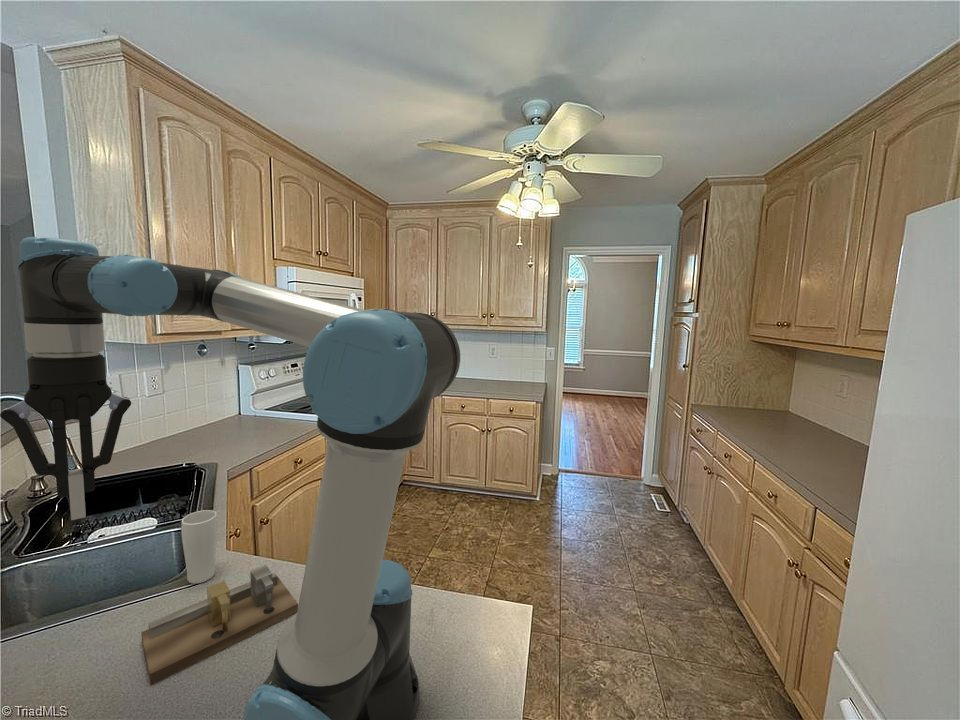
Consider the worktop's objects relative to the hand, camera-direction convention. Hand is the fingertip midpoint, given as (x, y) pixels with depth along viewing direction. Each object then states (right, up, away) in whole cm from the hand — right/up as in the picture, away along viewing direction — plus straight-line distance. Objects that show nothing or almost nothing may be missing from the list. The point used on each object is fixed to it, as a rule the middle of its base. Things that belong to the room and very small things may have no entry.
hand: (78, 514), depth 57 cm
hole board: (+7, -31, +21) cm, 38 cm away
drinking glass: (-7, -29, +35) cm, 46 cm away
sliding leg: (+8, -29, +20) cm, 36 cm away
